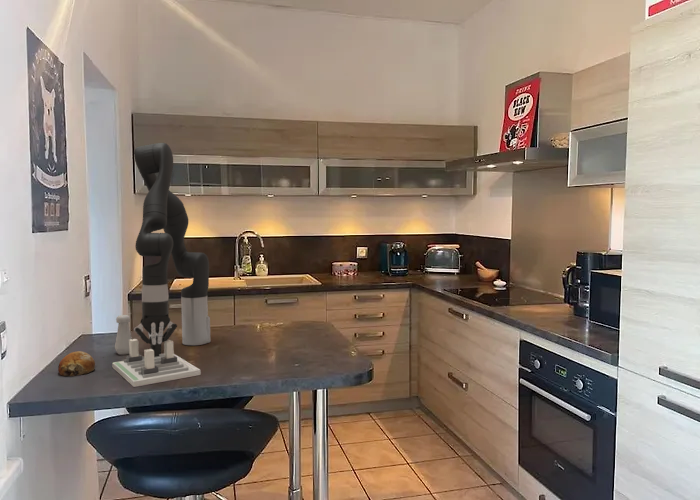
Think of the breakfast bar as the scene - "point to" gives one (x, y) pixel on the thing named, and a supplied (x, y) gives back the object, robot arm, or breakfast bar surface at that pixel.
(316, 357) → the breakfast bar surface
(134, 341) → the breaker
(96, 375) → the breakfast bar surface
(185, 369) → the panel
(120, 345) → the salt shaker
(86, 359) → the bread roll
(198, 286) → the robot arm
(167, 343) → the breaker
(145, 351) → the breaker
